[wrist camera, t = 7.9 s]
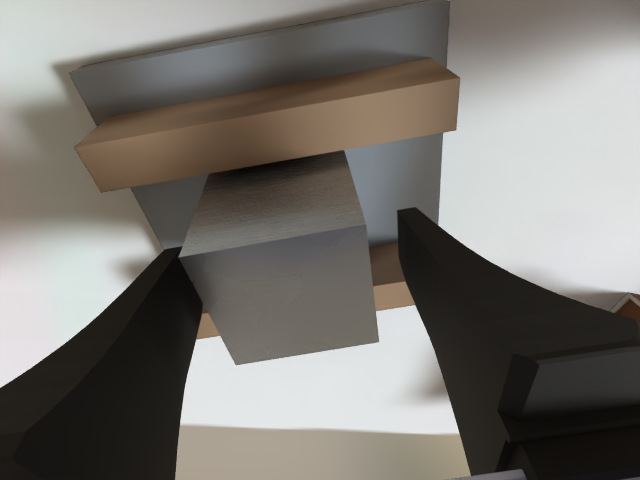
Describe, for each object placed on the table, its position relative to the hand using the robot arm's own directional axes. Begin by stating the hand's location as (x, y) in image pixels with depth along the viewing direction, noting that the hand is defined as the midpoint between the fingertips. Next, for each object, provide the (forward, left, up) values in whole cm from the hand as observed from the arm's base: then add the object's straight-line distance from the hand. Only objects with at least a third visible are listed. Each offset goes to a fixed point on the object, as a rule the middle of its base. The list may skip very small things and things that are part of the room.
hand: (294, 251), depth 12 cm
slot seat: (0, 0, -4) cm, 4 cm away
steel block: (0, 0, -3) cm, 3 cm away
